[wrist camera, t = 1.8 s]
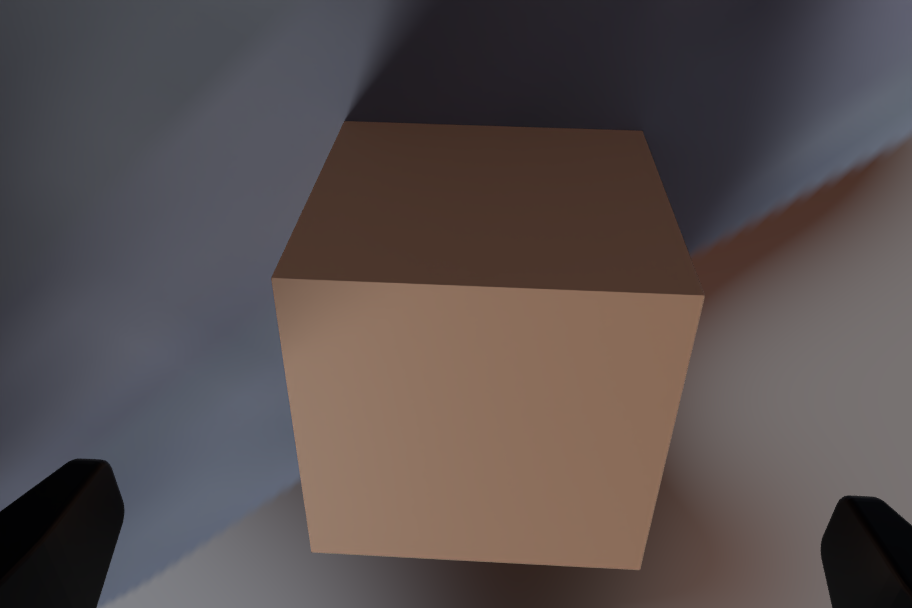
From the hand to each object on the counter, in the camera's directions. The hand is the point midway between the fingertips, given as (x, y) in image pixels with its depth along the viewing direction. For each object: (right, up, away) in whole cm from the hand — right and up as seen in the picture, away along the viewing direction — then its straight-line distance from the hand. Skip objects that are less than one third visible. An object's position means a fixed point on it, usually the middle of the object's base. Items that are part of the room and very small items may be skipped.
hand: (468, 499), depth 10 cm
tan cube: (0, +3, +5) cm, 6 cm away
